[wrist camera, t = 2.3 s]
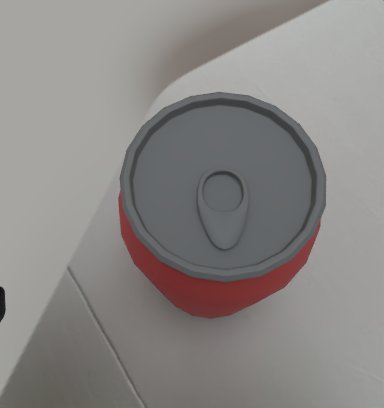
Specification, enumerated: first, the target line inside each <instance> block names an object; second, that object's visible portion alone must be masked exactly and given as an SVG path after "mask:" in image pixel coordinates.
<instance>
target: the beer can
mask: <svg viewBox="0 0 384 408" xmlns="http://www.w3.org/2000/svg"><path fill="white" fill-rule="evenodd" d="M120 187H121V190H120V194H119V214H120V225H121V235H122V238H123V240H124V242H125V244H126V246H127V249H128V251H129V253H130V255H131V258H132V260H133V262H134V264H135V265H136V266H137V267H138V268H139V269H140V270H141V271H142V272H143V273H144V274H145V276H146V277H147V278H148V279H149V280H150V281H151V282H152V283H153V284H154V285H155V286H156V287H157V288H158V289H159V290H160V291H161V292H162V293H163V294H164V295H165V296H166V297H167V298H168V299H169V300H170V301H171V302H172V303H173V304H174V305H175V306H176V307H178V308H180V309H182V310H183V311H185V312H187V313H189V314H191V315H194V316H200V317H206V318H215V317H221V316H227V315H231V314H233V313H235V312H237V311H239V310H242V309H244V308H246V307H248V306H250V305H252V304H255V303H257V302H258V301H260V300H262V299H264V298H266V297H267V296H269V295H271V294H273V293H275V292H277V291H278V290H280V289H282V288H284V287H285V286H286V285H287V284H288V283H289V282H290V281H291V279H292V278H293V277H294V276H295V275H296V274H297V273H298V271H299V270H300V269H301V268H302V267H303V266H304V265H305V264H306V262H307V260H308V257H309V254H310V252H311V249H312V247H313V244H314V242H315V239H316V237H317V234H318V231H319V228H320V220H321V216H322V214H323V211H324V209H325V206H326V174H325V171H324V168H323V165H322V162H321V159H320V156H319V153H318V150H317V147H316V146H315V145H314V143H313V142H312V140H311V139H310V138H309V136H308V135H307V134H306V132H305V131H304V130H303V128H302V127H301V125H300V124H299V123H297V122H296V121H295V120H293V119H292V118H291V117H289V116H288V115H287V114H285V113H284V112H283V111H281V110H280V109H279V108H278V107H276V106H274V105H271V104H269V103H266V102H264V101H261V100H259V99H256V98H254V97H251V96H249V95H240V94H232V93H223V92H216V93H210V94H203V95H196V96H190V97H188V98H185V99H183V100H181V101H178V102H176V103H174V104H172V105H169V106H167V107H165V108H163V109H162V110H161V111H160V112H158V113H157V114H156V115H155V116H154V117H152V118H151V119H150V120H149V121H148V122H146V123H145V124H144V125H143V126H142V127H141V129H140V130H139V132H138V133H137V135H136V136H135V138H134V139H133V141H132V143H131V144H130V146H129V147H128V149H127V151H126V155H125V159H124V163H123V167H122V171H121V175H120Z"/></svg>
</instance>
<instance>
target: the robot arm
mask: <svg viewBox="0 0 384 408" xmlns="http://www.w3.org/2000/svg"><path fill="white" fill-rule="evenodd" d="M5 310H6V309H5V291H4V289H3V288H2V287H0V322H1V320H2V319H3V317H4V314H5Z"/></svg>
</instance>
